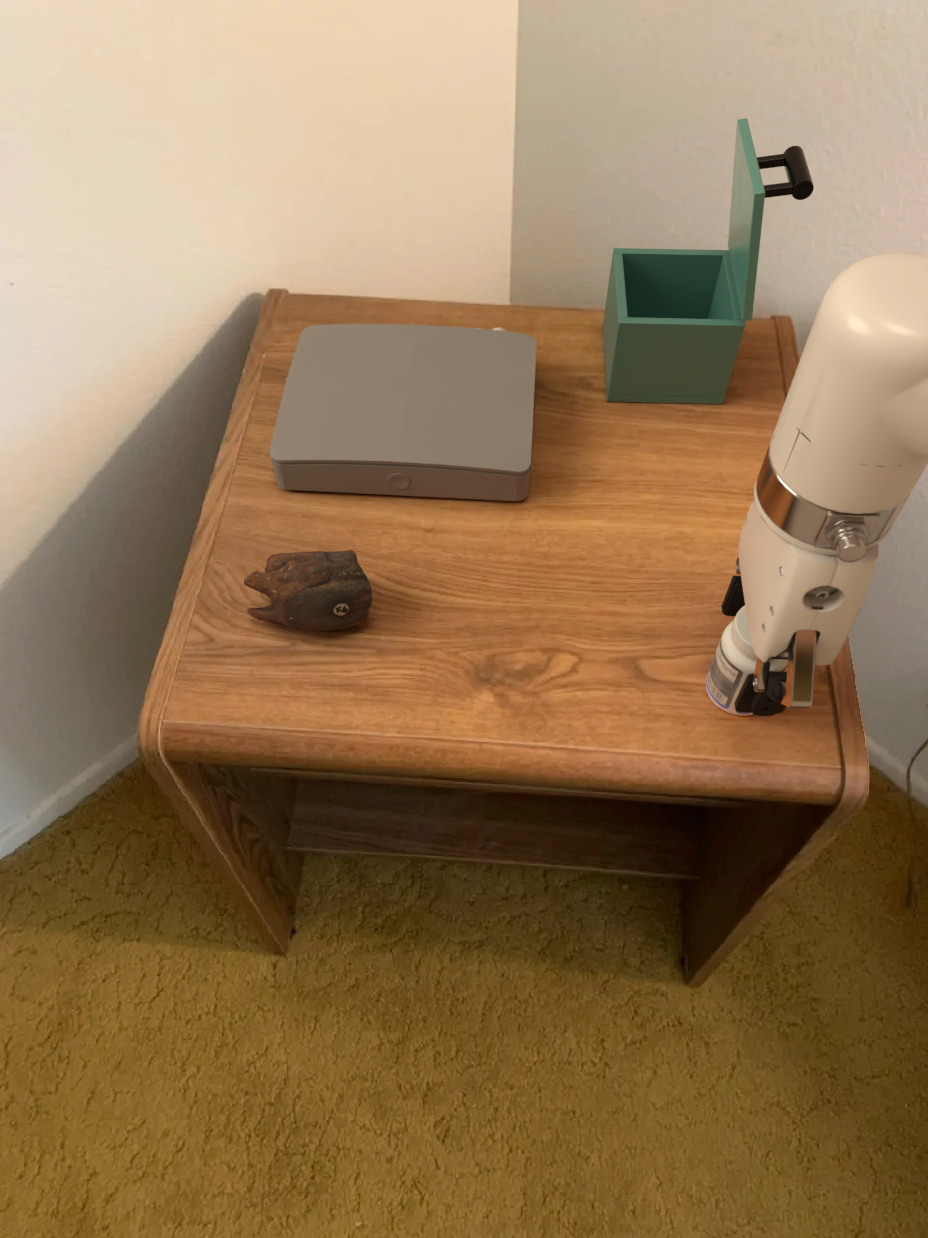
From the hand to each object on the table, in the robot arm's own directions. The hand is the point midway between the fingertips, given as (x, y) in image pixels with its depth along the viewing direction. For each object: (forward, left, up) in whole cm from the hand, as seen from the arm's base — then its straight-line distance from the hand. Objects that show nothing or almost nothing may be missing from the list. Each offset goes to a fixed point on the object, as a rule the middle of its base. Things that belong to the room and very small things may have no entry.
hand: (750, 658), depth 64 cm
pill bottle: (0, 0, -4) cm, 4 cm away
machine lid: (-1, -36, +11) cm, 37 cm away
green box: (+3, -35, -4) cm, 36 cm away
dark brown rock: (+32, -6, -4) cm, 33 cm away
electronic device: (+26, -27, -4) cm, 38 cm away
